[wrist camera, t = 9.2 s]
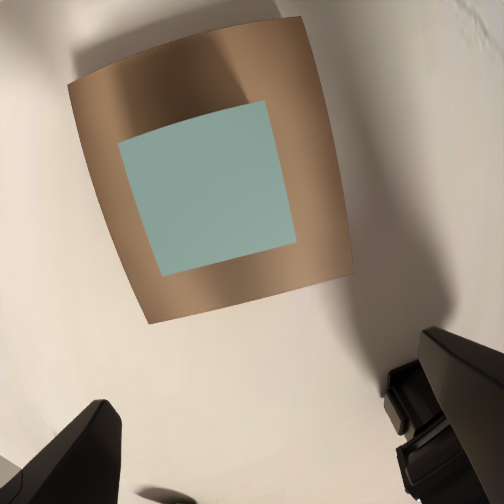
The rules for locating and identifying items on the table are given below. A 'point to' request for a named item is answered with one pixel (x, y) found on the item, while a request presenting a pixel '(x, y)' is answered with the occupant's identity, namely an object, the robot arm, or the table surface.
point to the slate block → (210, 188)
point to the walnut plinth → (201, 103)
